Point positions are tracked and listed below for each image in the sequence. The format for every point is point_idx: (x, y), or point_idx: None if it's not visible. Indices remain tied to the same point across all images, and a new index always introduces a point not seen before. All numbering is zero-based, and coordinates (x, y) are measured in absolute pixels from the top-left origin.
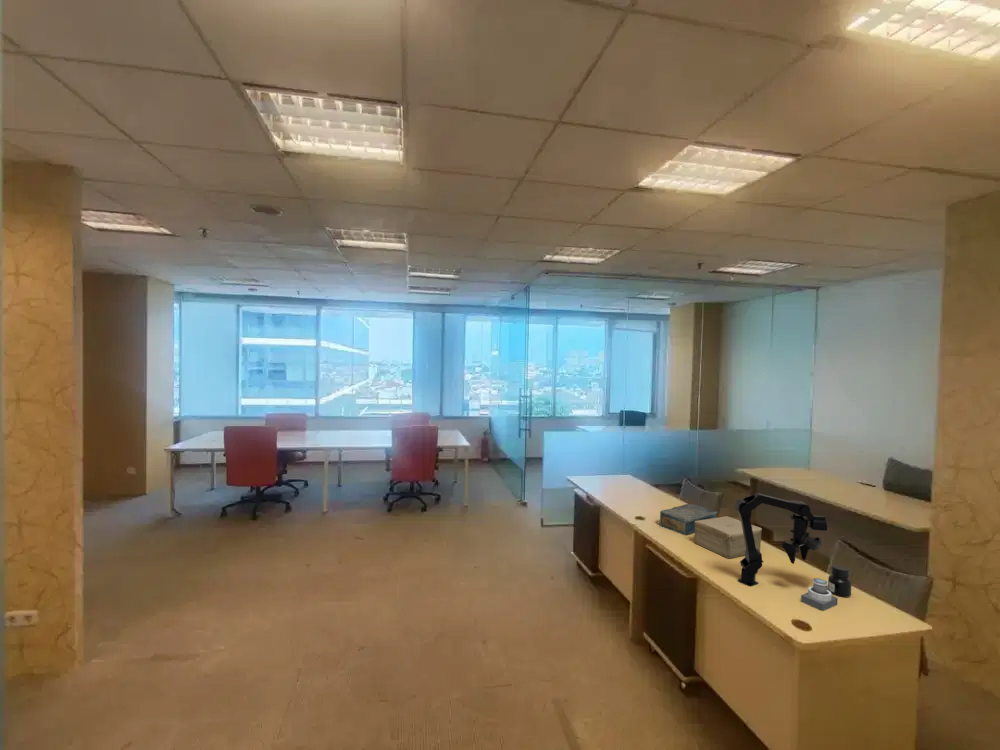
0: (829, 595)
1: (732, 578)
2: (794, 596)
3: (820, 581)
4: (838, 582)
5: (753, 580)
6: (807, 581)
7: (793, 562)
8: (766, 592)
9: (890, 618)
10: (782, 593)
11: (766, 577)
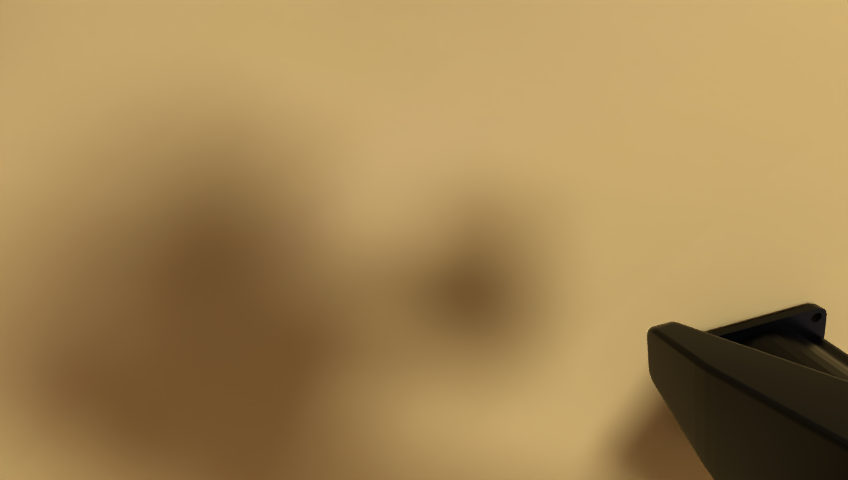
0: None
1: None
2: (593, 4)
3: None
4: None
5: (789, 350)
6: (60, 306)
7: (711, 338)
8: (793, 168)
9: None
10: (656, 108)
11: (480, 435)
